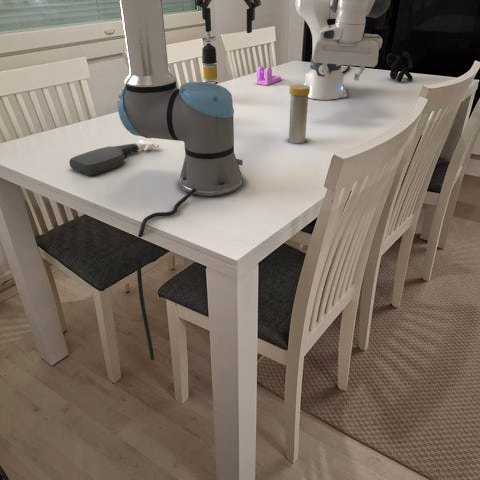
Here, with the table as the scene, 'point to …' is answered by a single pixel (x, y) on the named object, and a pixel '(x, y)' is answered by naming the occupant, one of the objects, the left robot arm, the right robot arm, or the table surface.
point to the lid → (299, 90)
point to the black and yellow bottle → (209, 61)
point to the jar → (298, 118)
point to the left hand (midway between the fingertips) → (228, 32)
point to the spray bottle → (106, 157)
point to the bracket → (266, 76)
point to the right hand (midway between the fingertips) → (341, 78)
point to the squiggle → (399, 66)
